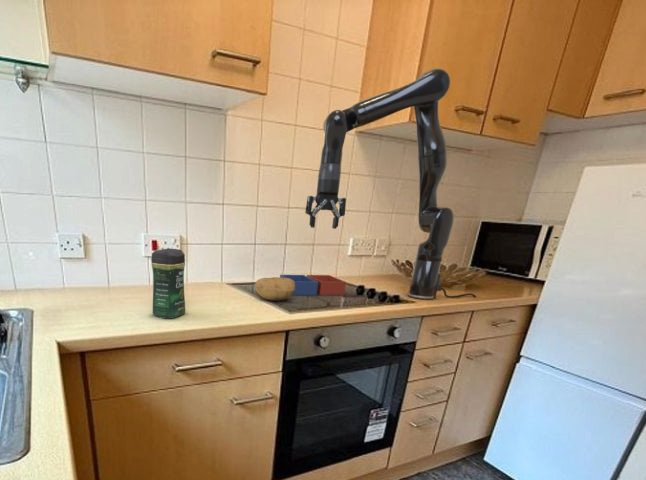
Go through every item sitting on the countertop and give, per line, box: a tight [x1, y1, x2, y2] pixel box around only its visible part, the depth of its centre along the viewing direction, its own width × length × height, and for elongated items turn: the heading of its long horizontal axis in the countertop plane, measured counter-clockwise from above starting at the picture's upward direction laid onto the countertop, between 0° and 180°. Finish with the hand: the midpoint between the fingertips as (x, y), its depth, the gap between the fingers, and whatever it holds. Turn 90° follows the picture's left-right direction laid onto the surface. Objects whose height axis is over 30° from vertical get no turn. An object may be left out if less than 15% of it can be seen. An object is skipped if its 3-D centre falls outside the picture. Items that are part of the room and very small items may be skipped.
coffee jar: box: [150, 248, 186, 319], centre depth 114 cm, size 10×8×19 cm
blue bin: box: [279, 274, 318, 296], centre depth 159 cm, size 10×15×5 cm
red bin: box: [306, 274, 347, 296], centre depth 161 cm, size 10×15×5 cm
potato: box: [254, 276, 296, 302], centre depth 140 cm, size 10×14×8 cm
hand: (323, 228), depth 146 cm, fingers open, 8 cm apart
